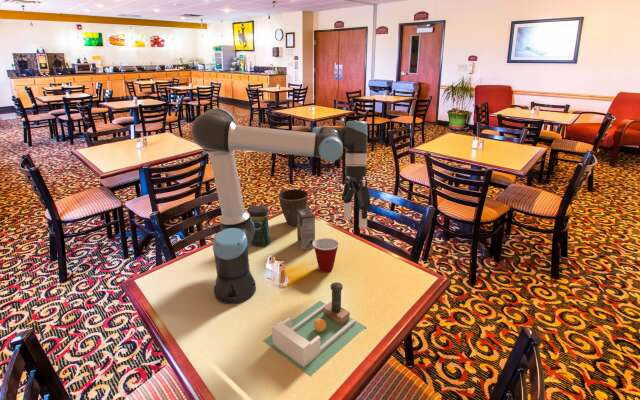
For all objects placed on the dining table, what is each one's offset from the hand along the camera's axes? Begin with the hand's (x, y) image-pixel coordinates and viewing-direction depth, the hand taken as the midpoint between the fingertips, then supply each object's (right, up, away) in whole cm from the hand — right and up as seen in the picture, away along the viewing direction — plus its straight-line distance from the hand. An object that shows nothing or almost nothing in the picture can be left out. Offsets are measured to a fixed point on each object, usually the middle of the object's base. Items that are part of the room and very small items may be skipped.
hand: (354, 223), depth 136 cm
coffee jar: (-41, -12, +37) cm, 56 cm away
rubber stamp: (-7, -31, -12) cm, 34 cm away
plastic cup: (-10, -20, +17) cm, 28 cm away
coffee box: (-19, -12, +35) cm, 42 cm away
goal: (-19, -36, -25) cm, 48 cm away
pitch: (-14, -34, -19) cm, 42 cm away
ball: (-13, -31, -19) cm, 38 cm away
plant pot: (-26, -4, +56) cm, 62 cm away
